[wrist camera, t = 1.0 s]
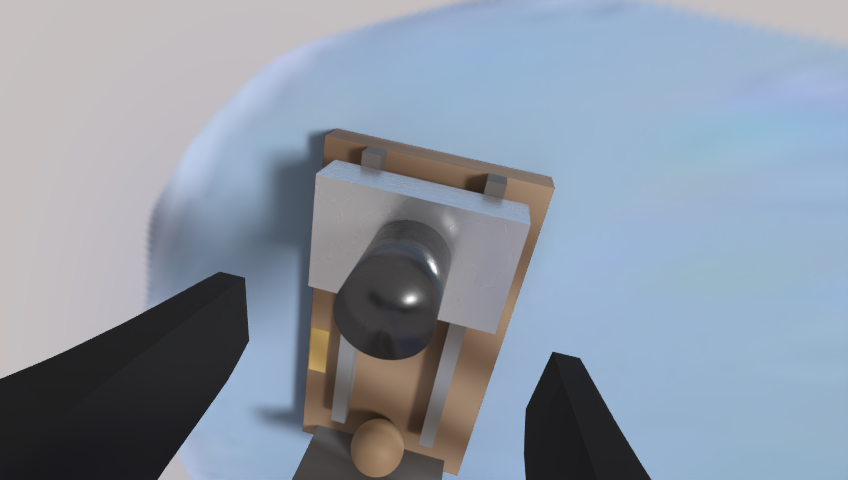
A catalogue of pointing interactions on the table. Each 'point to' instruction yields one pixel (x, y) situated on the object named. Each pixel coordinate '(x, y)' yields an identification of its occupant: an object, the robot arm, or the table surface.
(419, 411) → the nut press
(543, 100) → the table surface
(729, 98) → the table surface
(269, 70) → the table surface
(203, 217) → the table surface
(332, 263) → the press carriage
